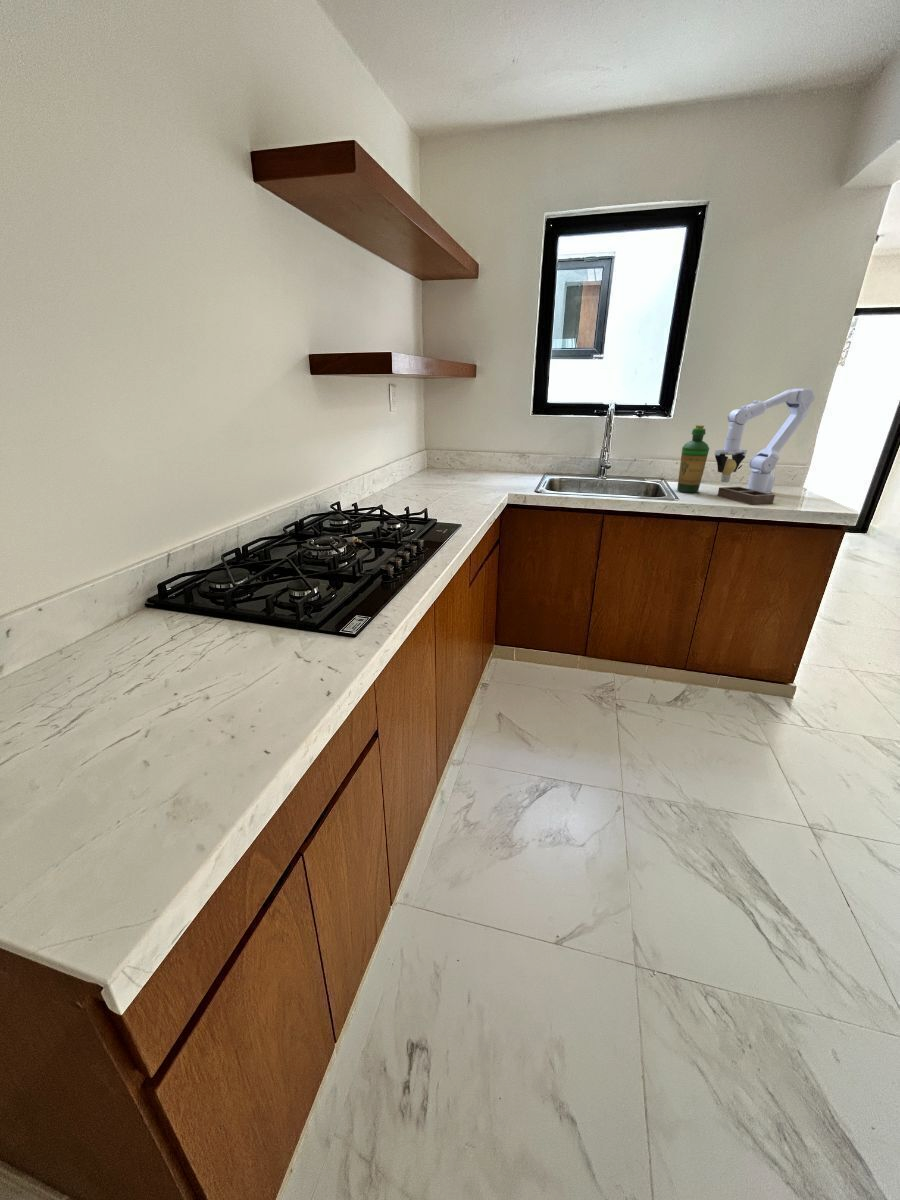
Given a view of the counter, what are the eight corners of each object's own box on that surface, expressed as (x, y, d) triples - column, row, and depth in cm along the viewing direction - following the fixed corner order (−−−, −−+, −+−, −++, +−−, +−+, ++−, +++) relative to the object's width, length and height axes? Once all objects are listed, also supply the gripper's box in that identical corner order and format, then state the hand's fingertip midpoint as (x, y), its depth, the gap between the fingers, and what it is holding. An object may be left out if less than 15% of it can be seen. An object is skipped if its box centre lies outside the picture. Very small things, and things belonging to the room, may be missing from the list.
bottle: (674, 492, 220) (686, 425, 209) (674, 488, 229) (686, 424, 218) (701, 494, 216) (714, 426, 206) (699, 490, 226) (712, 425, 215)
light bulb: (728, 481, 222) (734, 457, 218) (735, 483, 216) (740, 459, 212) (714, 480, 223) (718, 457, 219) (719, 483, 217) (724, 459, 213)
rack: (737, 494, 217) (739, 486, 216) (772, 503, 200) (775, 494, 199) (717, 495, 215) (719, 487, 213) (751, 504, 198) (753, 495, 196)
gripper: (726, 440, 207) (719, 473, 212) (755, 439, 210) (747, 472, 216) (714, 438, 214) (707, 471, 219) (742, 438, 217) (735, 470, 222)
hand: (726, 471), depth 218 cm, fingers closed on light bulb, 6 cm apart
